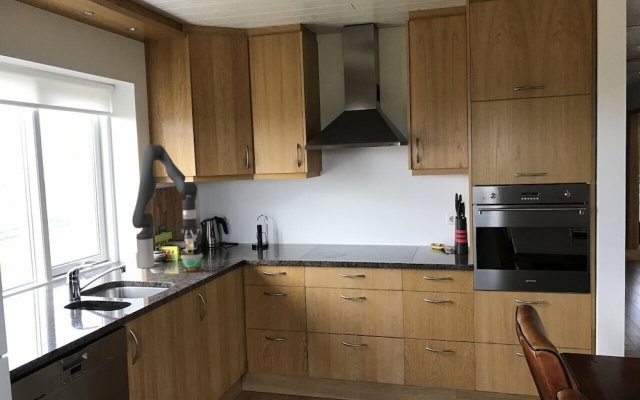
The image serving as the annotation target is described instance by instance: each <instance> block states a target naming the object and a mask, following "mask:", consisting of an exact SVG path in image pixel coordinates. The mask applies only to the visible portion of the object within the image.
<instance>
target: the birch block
mask: <svg viewBox="0 0 640 400" xmlns="http://www.w3.org/2000/svg"><path fill="white" fill-rule="evenodd" d="M185 243H186V247H185V250H187V251H193V250H197V248H194V239H193V238H192V237H189V238H188V239H185V241H184V244H185Z"/></svg>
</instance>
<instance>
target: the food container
mask: <svg viewBox="0 0 640 400" xmlns="http://www.w3.org/2000/svg"><path fill="white" fill-rule="evenodd" d="M203 257H204V255H203V253H202V252H201V253H199V254H189V255H183V254H181V255H180V259H181V260H182V267H183V272H184V273H187V274H193V273H194V272H195V273H199V272H201V271H202V259H203Z"/></svg>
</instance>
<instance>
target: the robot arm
mask: <svg viewBox="0 0 640 400" xmlns="http://www.w3.org/2000/svg"><path fill="white" fill-rule="evenodd" d="M154 161H158V162H160V163H162V164H163V165H164V168H165V171H166V174H167V176H168V179H170V180H171V181H172V182H173V183H174V186H175V187H176V189H177V192H179V194H181V195H183V196H186V198H185V199H183V200H182V202H181V203H182V224H183V225H182V227H183V229H179V230H178V234H179V237H180V239H181V241H183V242H184V247H185V248H186V243H185V239H188V238H190V236H191V238H193V239H194V248H197V247H198V241H200V240H201V239H202V234H203V229H199V228H198V227H197V226H198V222H197V221H198V220H197V210H196V200H197V195H198V186H197V183H195V182H194V181H186V176H185V175H184V173H183V172H182V171H181V170H180V169H179V168H178V167H177V166H176V164H175V163H174V162H173V159H171V156H170V155H169V154H168V152H167V150H166V149H165V147H164V146H162V145H161V144H147V145H146V146H145V147H144V148H143V153H142V168H141V176H140V179H139V180H140V181H139V186H138V192H137V193H138V194H137V197H136V204H135V205H134V206H135V207H134V209H133V212H132V213H133V214H132V218H131V220H132V221H131V223H132V226H133V227H134V228H135V229H141V231H140V232H139V233H137V234H136V250H137V251H136V252H135V256H136V257H135V261H136V268H137V269H150V268H153V267H155V253H154V238H153V236H154V217H153V215H152V213H151V211H146V207H147V206H148V204H149V202H150V201H151V200H152V198H153V197H154V196H155V194H156V188H157V180H156V177H155V173H154V170H153V168H154V167H153V166H154Z"/></svg>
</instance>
